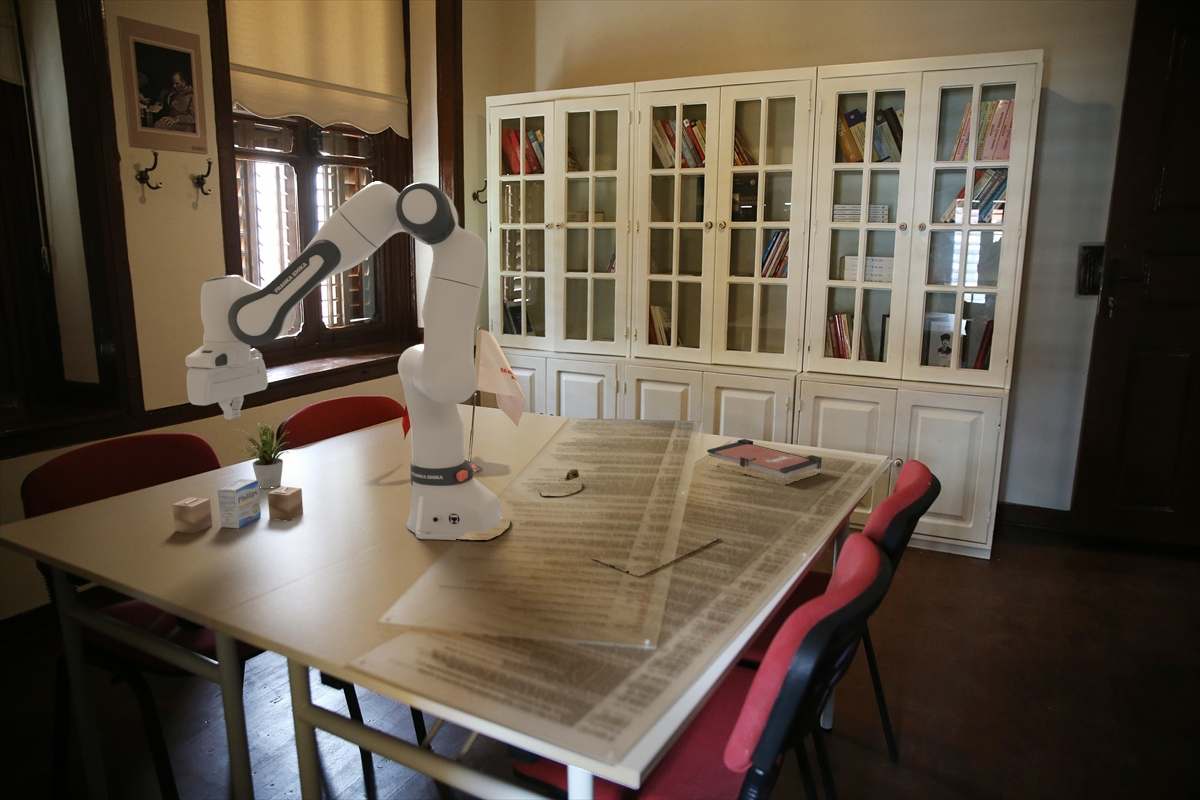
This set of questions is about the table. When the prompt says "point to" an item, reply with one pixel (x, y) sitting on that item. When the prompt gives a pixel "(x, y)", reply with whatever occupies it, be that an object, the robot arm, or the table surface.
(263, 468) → the house plant
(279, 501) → the walnut block seven
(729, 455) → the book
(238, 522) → the medicine box
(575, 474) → the seal
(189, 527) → the walnut block one
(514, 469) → the table surface
